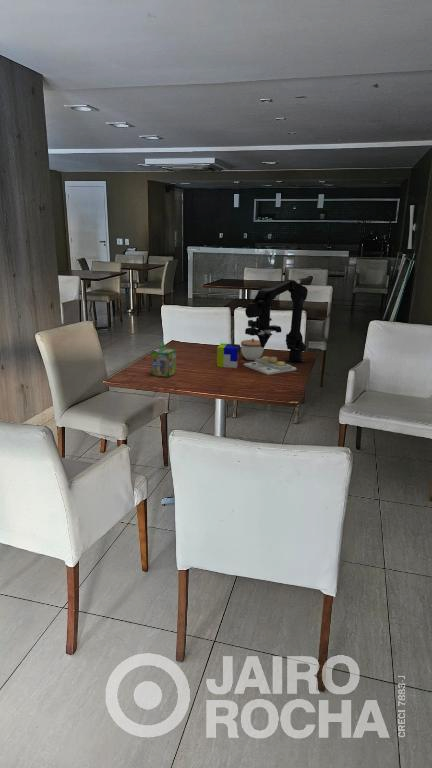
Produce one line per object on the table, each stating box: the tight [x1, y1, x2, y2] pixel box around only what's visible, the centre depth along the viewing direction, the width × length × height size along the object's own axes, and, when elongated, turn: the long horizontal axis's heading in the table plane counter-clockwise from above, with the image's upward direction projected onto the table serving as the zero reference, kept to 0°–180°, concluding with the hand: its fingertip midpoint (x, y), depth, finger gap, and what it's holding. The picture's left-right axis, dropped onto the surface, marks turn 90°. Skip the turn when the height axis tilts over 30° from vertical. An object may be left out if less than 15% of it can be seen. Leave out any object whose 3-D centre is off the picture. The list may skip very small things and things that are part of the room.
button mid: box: [268, 356, 278, 364], centre depth 251 cm, size 4×4×3 cm
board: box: [243, 357, 297, 376], centre depth 250 cm, size 18×20×3 cm
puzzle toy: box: [216, 343, 241, 369], centre depth 253 cm, size 10×10×10 cm
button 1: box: [261, 355, 270, 361], centre depth 256 cm, size 4×4×3 cm
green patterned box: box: [150, 342, 177, 378], centre depth 233 cm, size 9×9×15 cm
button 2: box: [277, 360, 286, 367], centre depth 246 cm, size 4×4×3 cm
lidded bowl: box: [240, 338, 265, 361], centre depth 267 cm, size 13×13×11 cm
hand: (262, 347), depth 245 cm, fingers closed
